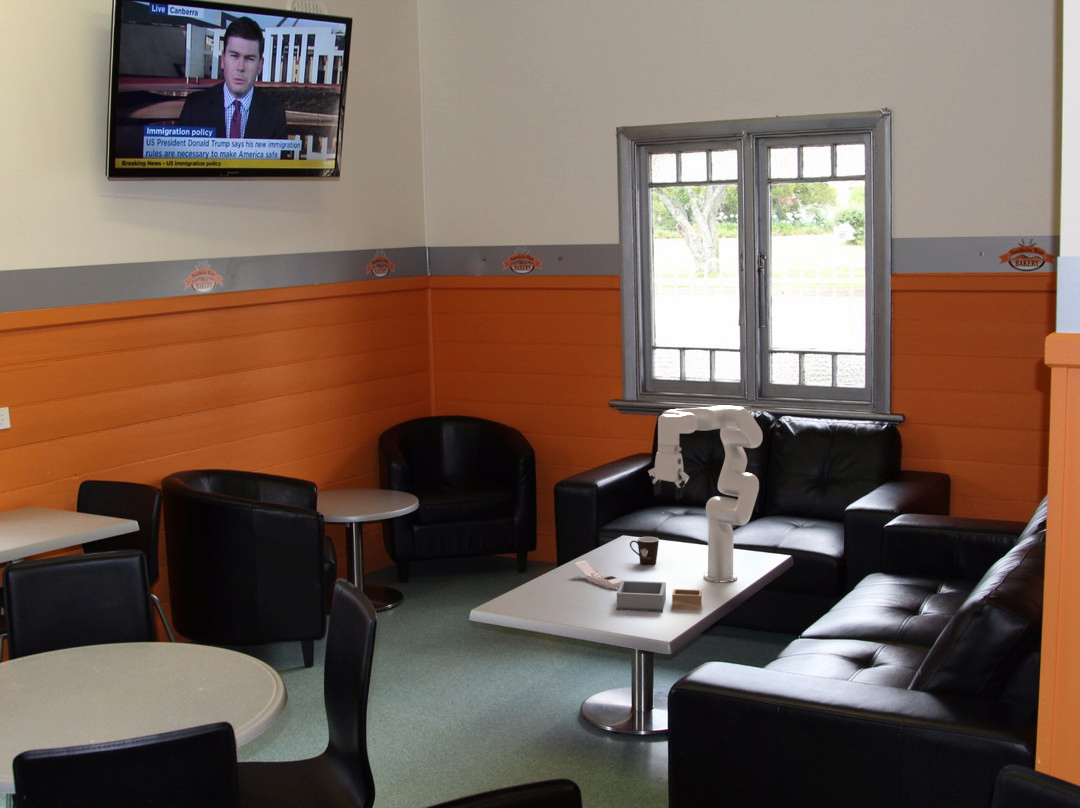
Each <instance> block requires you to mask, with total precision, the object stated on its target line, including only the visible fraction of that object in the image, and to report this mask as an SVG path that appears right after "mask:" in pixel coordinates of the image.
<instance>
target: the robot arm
mask: <svg viewBox="0 0 1080 808" xmlns="http://www.w3.org/2000/svg"><path fill="white" fill-rule="evenodd" d="M657 421H658V422H657V425H658V426H657V438H658V439H657V452H656V454H655V460H654V461H655V462H654V467H653V468H651V469H649V470H647V472H648V474H649V477H650V480H651V481H652V482H651V483H652V484H653V494H654V495H653V496H657V495H661V494H662V482H661V481H664V482H665V481H666V482H673V483H674V484H675V485H676V488H675V499H682V498H683V495H684V487H685V485H686V484H687V483H688V481H689V479H690V475H688V474H687V473H686V472H685V471H684V461H683V455H682V452H681V451H682V447H680V434H692V433H695V431H712V430H718V429H719V431H720V432H719V435H720V436H719V437H720V440H721V442H722V445H723V448H724V453H725V457H724V461H723V465H722V468H721V470H720V474H719V477H718V481H717V490H718V491H719V492H720V493H722V494H723V495H727V496H731V497H732V498H731V497H727V496H719V495H717V496H712V497H711V498H709V499H708V500H707V502H706V505H705V515H706V519H707V529H708V530H707V531H708V532H707V533H708V536H707V571H706V572H705V573H704V574H703V578H704V580H706V579H708V580H711V581H710V582H713V581H718V582H717V583H721V582H720V581H732V580H735V579H736V578H737V579H738V575H737V574H736V573H734V540H735V539H734V530H733V526H732V525H735V526H745V525H746V524H748V523H749V521H750V519H751V517H752V514H753V510H754V507H755V504H756V500H757V497H758V494H759V490H760V481H759V479H758V477H757V476H756V475H755V474H753V473H752V472H751V473H750V472H746V468H747V464H748V458H747V454H746V452H745V449H744V448H748V449H755V448H758V447H760V446H761V444H762V442H763V437H764V436H763V430H762V429H761V427H760V426H759V424H758V423H757V421H756V419H755V417H754V416H753V415H752V414H751V413H750V412H749V411H748V410H747V408H745V407H743V406H735V405H727V404H726V405H724V404H723V405H722V404H721V405H713V406H706V407H692V408H675V409H668V410H667V409H666V410H665V411H664V412H662V414H661V415H659V416H658V419H657ZM733 497H737V499H736V498H733ZM737 579H736V580H737ZM708 580H707V581H708ZM736 580H735V581H736ZM732 582H733V581H732Z"/></svg>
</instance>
